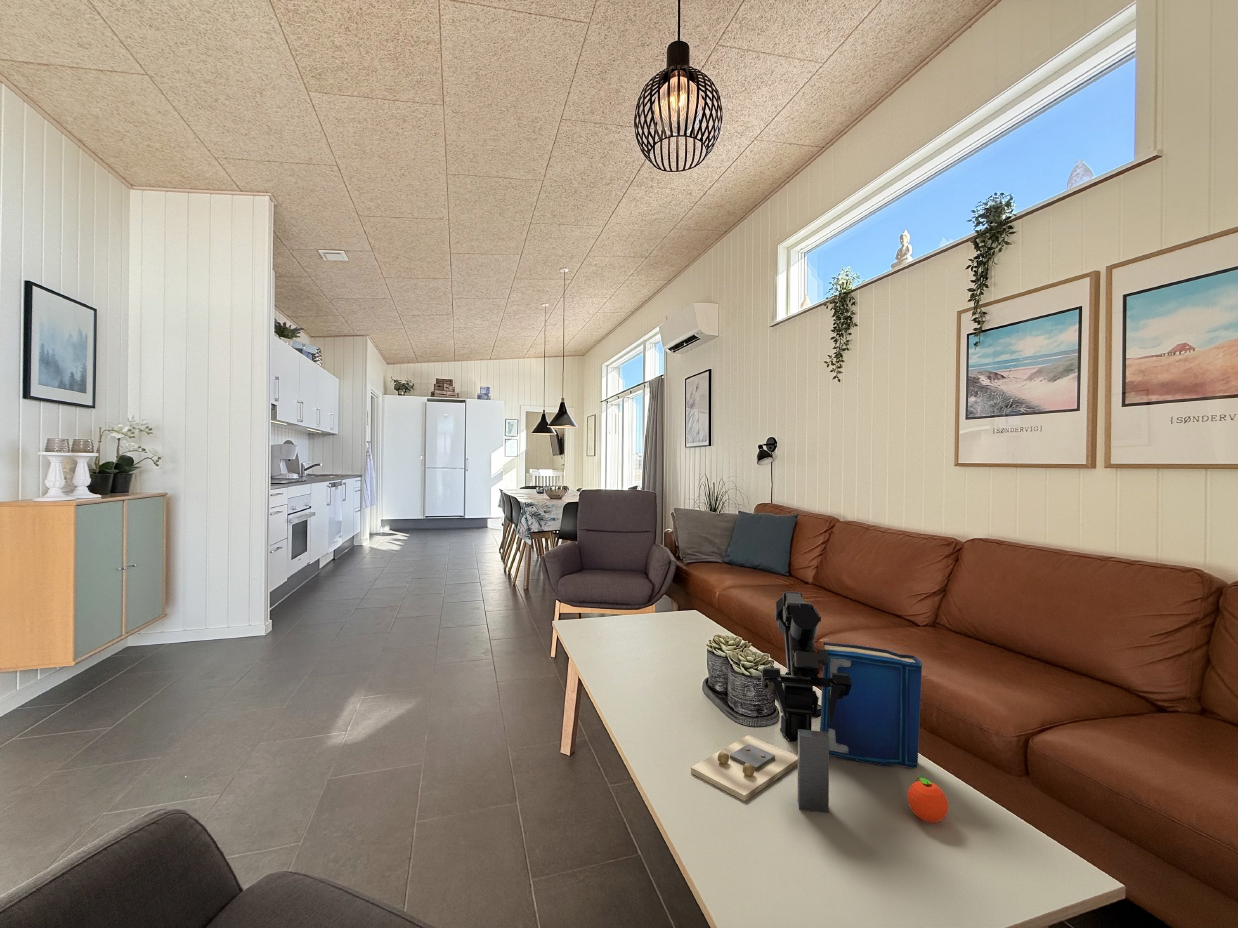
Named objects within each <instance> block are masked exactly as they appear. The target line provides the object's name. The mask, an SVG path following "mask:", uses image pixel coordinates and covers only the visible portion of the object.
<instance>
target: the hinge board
mask: <svg viewBox="0 0 1238 928" xmlns="http://www.w3.org/2000/svg"><path fill="white" fill-rule="evenodd" d="M796 766H798V754H797V755H796V754H794V753H792V752H789V751H787V750H785V749H782V748H780V747H777V746H775V745H773V744H770V743H768V742H766V741H763V740H761V739H759V738H756V737H754V736H752V735H749V734H747V735H746V736H744V737H742V738H740V739H738V740H736V741H735V742H733V743H731V744H730V745H727V746H726V747H725V748H722V749H721V750H719V751H717V752H716V753H714V754H712V755H710V756H708V757H707V758H704V759H703V760H701V761H699V762H698V763H696V764H694V765H693V766H690V774H692V775H694V776H696V777H698V778H700V779H701V780H704V781H706V782H707V783H710V784H711V785H713V786H715V787H717V788H719V789H721V790H722V791H725V792H727V793H729V794H730V795H733V796H734V797H736V798H738V799H739V800H741V801H743V802H746V801H747V800H748V799H750V798H752V797H753V796H754V795H756V794H757V793H759V792H760V791H762V790H763V789H764V788H766V787H767V786H769V785H770V784H771V783H773V782H774V781H776V780H777V779H778V778H780V777H781V776H783V775H784V774H785V773H787V772H788V771H790V770H792V769H793V768H794V767H796Z"/></svg>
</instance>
